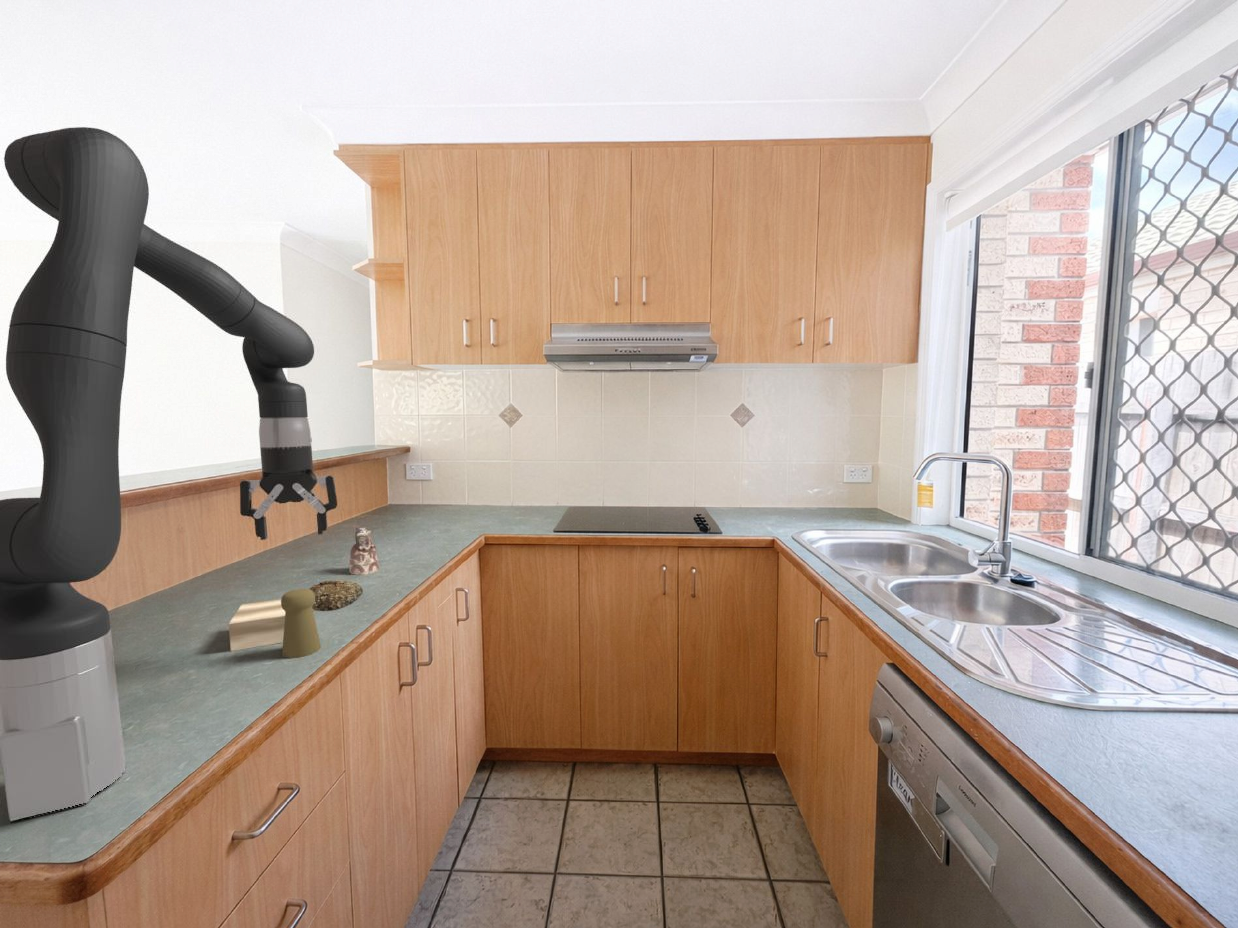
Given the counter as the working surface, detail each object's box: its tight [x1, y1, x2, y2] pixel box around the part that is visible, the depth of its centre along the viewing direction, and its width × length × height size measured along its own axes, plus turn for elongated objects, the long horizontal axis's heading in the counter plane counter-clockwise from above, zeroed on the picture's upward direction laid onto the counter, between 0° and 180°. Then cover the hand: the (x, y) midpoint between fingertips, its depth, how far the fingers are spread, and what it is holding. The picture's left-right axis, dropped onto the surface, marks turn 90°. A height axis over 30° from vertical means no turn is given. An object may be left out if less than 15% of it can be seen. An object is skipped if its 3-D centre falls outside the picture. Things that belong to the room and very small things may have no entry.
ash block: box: [228, 598, 285, 652], centre depth 102 cm, size 11×11×5 cm
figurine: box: [348, 525, 380, 576], centre depth 143 cm, size 7×7×12 cm
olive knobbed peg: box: [280, 588, 322, 659], centre depth 94 cm, size 6×6×11 cm
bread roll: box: [309, 579, 364, 612], centre depth 120 cm, size 13×12×5 cm
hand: (293, 536), depth 93 cm, fingers open, 8 cm apart
